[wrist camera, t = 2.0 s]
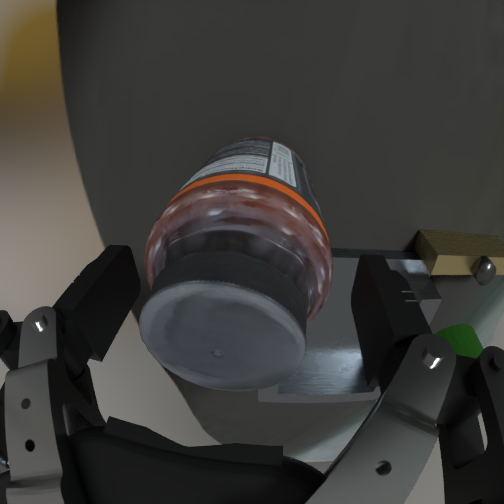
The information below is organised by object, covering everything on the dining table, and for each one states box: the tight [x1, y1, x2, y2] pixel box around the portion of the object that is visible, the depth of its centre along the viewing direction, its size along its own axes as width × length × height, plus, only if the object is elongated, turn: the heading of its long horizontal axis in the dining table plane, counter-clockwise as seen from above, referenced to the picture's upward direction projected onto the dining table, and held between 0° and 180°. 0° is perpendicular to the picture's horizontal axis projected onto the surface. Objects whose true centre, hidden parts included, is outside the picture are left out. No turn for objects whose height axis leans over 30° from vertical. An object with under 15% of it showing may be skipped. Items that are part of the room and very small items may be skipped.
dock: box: [258, 248, 442, 403], centre depth 20 cm, size 14×12×4 cm
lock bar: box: [414, 230, 504, 286], centre depth 14 cm, size 2×8×4 cm, turn 91°
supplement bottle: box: [139, 136, 333, 392], centre depth 11 cm, size 6×6×11 cm
